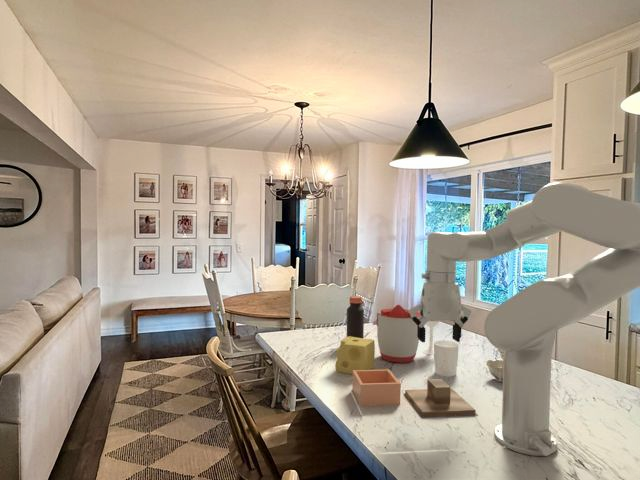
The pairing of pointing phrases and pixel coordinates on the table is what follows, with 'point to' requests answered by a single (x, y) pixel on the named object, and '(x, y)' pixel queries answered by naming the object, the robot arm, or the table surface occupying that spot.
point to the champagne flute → (430, 349)
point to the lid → (439, 400)
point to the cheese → (355, 355)
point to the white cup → (445, 358)
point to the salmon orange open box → (376, 387)
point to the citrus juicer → (397, 334)
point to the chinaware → (497, 367)
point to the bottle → (355, 318)
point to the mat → (434, 416)
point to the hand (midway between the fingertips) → (439, 340)
